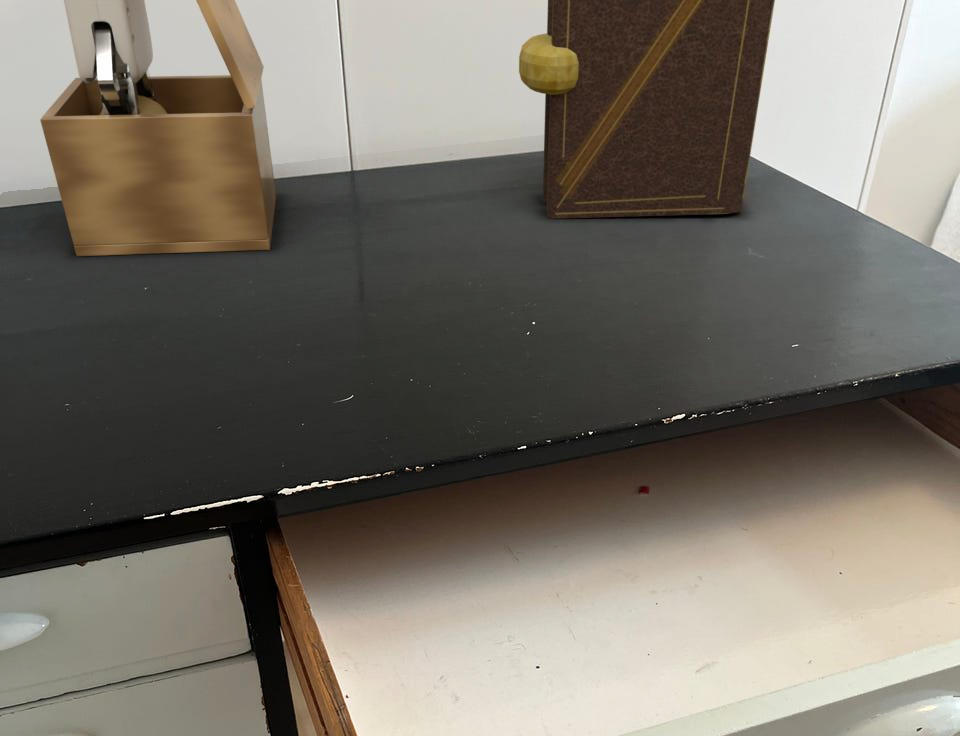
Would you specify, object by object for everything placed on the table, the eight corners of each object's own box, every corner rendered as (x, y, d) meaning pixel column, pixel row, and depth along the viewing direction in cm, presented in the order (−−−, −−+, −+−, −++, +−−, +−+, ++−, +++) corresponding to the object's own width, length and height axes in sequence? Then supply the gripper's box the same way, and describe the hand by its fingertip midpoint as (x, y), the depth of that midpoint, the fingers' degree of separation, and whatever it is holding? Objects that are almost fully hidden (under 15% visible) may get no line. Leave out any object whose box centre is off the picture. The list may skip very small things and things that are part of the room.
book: (729, 189, 99) (775, -121, 82) (749, 217, 92) (803, -113, 76) (515, 194, 98) (517, -115, 82) (520, 223, 92) (524, -107, 75)
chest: (76, 256, 84) (39, 119, 77) (105, 202, 95) (75, 77, 88) (270, 249, 86) (251, 114, 79) (276, 197, 97) (260, 74, 90)
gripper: (62, -100, 81) (114, 134, 92) (12, -79, 68) (80, 190, 80) (154, -100, 81) (194, 132, 93) (121, -79, 68) (173, 188, 80)
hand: (141, 157), depth 86 cm, fingers closed on light bulb, 6 cm apart
